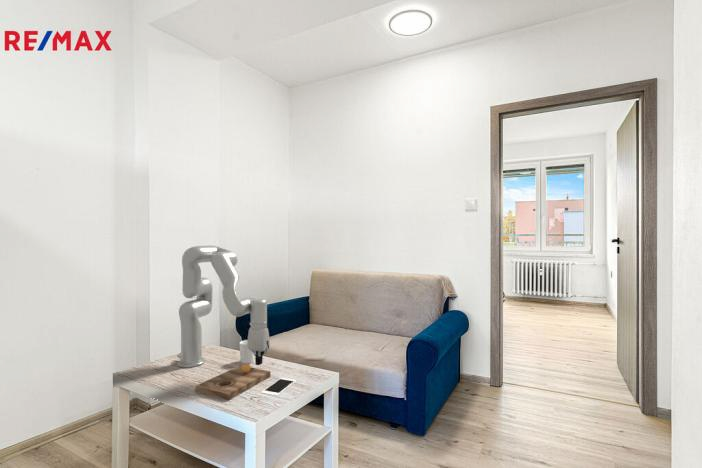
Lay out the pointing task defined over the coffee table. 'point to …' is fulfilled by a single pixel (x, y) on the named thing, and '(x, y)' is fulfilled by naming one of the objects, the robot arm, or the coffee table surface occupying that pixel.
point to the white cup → (246, 353)
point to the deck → (232, 382)
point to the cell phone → (278, 386)
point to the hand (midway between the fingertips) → (258, 364)
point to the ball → (246, 368)
